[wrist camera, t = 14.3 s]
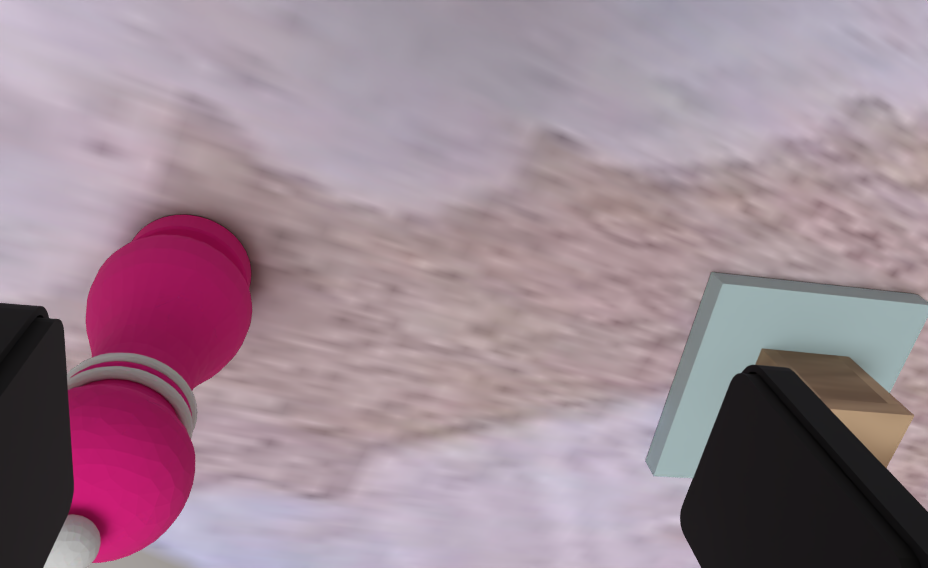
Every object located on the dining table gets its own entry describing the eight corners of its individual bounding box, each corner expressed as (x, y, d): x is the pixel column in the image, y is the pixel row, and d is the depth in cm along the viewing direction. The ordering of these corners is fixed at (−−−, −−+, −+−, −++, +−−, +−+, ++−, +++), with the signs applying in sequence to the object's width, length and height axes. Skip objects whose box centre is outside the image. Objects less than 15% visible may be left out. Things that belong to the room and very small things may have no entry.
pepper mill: (288, 255, 39) (236, 539, 22) (213, 351, 41) (111, 681, 24) (163, 176, 37) (-11, 427, 19) (90, 282, 39) (-130, 599, 21)
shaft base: (711, 272, 43) (761, 322, 38) (916, 294, 46) (990, 344, 41) (645, 461, 49) (680, 527, 44) (830, 470, 52) (885, 534, 47)
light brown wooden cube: (761, 348, 45) (823, 414, 39) (849, 356, 46) (921, 422, 40) (728, 428, 47) (782, 502, 41) (812, 434, 48) (875, 507, 42)
